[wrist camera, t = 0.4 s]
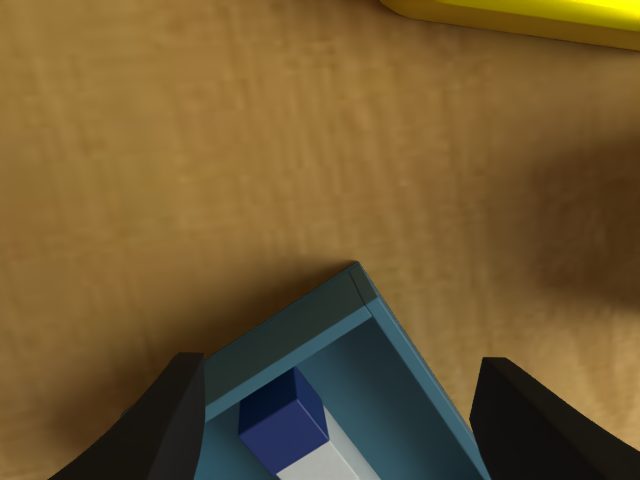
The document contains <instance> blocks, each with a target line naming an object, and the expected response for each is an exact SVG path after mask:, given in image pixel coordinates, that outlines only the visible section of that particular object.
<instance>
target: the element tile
mask: <svg viewBox="0 0 640 480" xmlns="http://www.w3.org/2000/svg"><path fill="white" fill-rule="evenodd" d="M380 1H381V3H382V4H384V5H385V6H387V7H388V8H390V9H391V10H393V11H394V12H396V13H397V14H399V15H402V16H405V17H408V18H411V19H417V20H424V21H431V22H439V23H446V24H453V25H460V26H467V27H474V28H481V29H488V30H496V31H503V32H510V33H517V34H524V35H531V36H538V37H545V38H552V39H560V40H567V41H574V42H581V43H588V44H595V45H602V46H609V47H617V48H624V49H631V50H638V51H640V0H380Z"/></svg>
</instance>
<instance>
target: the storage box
mask: <svg viewBox="0 0 640 480" xmlns="http://www.w3.org/2000/svg"><path fill="white" fill-rule="evenodd" d="M294 366H296V367H297V368H298V369H299V371H300V372H301V373H302V375H303V376H304V377H305V378H306V380H307V381H308V382H309V384H310V385H311V386H312V388H313V389H314V390H315V391H316V393H317V394H318V395H319V397H320V398H321V399H322V402H323V405H324V406H325V408H326V409H327V410H328V412H329V413H330V414H331V415H332V417H333V418H334V419H335V421H336V422H337V423H338V424H339V426H340V427H341V428H342V430H343V431H344V432H345V434H346V435H347V436H348V437H349V439H350V440H351V441H352V443H353V444H354V445H355V446H356V448H357V449H358V450H359V452H360V453H361V454H362V456H363V457H364V458H365V459H366V461H367V462H368V463H369V465H370V466H371V467H372V468H373V470H374V471H375V472H376V474H377V475H378V476H379V478H380V479H381V480H491V478H490V476H489V474H488V472H487V469H486V467H485V465H484V463H483V460H482V458H481V456H480V453H479V450H478V447H477V444H476V441H475V437H474V434H473V433H472V431H471V430H470V428H469V427H468V425H467V424H466V422H465V421H464V419H463V418H462V416H461V415H460V413H459V412H458V410H457V409H456V407H455V406H454V404H453V403H452V401H451V400H450V398H449V397H448V395H447V394H446V392H445V391H444V389H443V388H442V386H441V385H440V383H439V382H438V380H437V379H436V377H435V376H434V374H433V373H432V371H431V370H430V368H429V367H428V365H427V364H426V362H425V361H424V359H423V358H422V356H421V355H420V353H419V352H418V350H417V349H416V347H415V346H414V344H413V343H412V341H411V340H410V338H409V337H408V335H407V334H406V332H405V331H404V329H403V328H402V326H401V324H400V323H399V321H398V320H397V318H396V317H395V315H394V314H393V312H392V311H391V309H390V308H389V306H388V305H387V303H386V302H385V300H384V299H383V297H382V296H381V294H380V293H379V291H378V290H377V288H376V287H375V285H374V284H373V282H372V281H371V279H370V278H369V276H368V275H367V273H366V272H365V270H364V269H363V267H362V266H361V264H360V263H359V262H358V261H357V262H356V263H354V264H353V265H351V266H349V267H348V268H346V269H345V270H343V271H342V272H340V273H339V274H337V275H335V276H334V277H332V278H331V279H329V280H328V281H326V282H325V283H323V284H322V285H320V286H318V287H317V288H315V289H314V290H312V291H311V292H309V293H308V294H306V295H304V296H303V297H301V298H300V299H298V300H297V301H295V302H294V303H292V304H291V305H289V306H287V307H286V308H284V309H283V310H281V311H280V312H278V313H277V314H275V315H273V316H272V317H270V318H269V319H267V320H266V321H264V322H263V323H261V324H260V325H258V326H256V327H255V328H253V329H252V330H250V331H249V332H247V333H246V334H244V335H243V336H241V337H239V338H238V339H236V340H235V341H233V342H232V343H230V344H229V345H227V346H225V347H224V348H222V349H221V350H219V351H218V352H216V353H215V354H213V355H212V356H210V357H208V358H207V359H205V360H204V378H205V415H206V418H205V425H204V432H203V439H202V446H201V452H200V457H199V461H198V465H197V469H196V473H195V476H194V480H281V479H280V478H279V477H278V476H277V475H276V474H275V475H274V476H272V475H271V474H270V473H269V472H268V471H267V470H266V468H265V467H264V466H263V465H262V464H261V463H260V461H259V460H258V459H257V458H256V457H255V456H254V455H253V453H252V452H251V451H250V450H249V449H248V448H247V446H246V445H245V444H244V443H243V442H242V441H241V440H240V438H239V437H238V423H239V409H240V400H242V399H243V398H245V397H246V396H248V395H250V394H251V393H253V392H254V391H256V390H257V389H259V388H261V387H262V386H264V385H265V384H267V383H268V382H270V381H272V380H273V379H275V378H276V377H278V376H280V375H281V374H283V373H284V372H286V371H287V370H289V369H291V368H292V367H294ZM129 409H130V408H129ZM129 409H128V410H129ZM128 410H126V411H125V412H123V413H122V415H121V417H122V416H123V415H124V414H125V413H126V412H127V411H128ZM121 417H120V418H121Z"/></svg>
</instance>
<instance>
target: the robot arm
mask: <svg viewBox="0 0 640 480" xmlns="http://www.w3.org/2000/svg"><path fill="white" fill-rule="evenodd" d="M205 418H206V415H205V378H204V353H192V352H179V353H178V354H177V355H175V356H174V358H173V359H172V360H171V362H170V363H169V364H168V365H167V367H166V368H165V369H164V370H163V372H162V373H161V374H160V375H159V377H158V378H157V379H156V380H155V381H154V382H153V384H152V385H151V386H150V387H149V388H148V389H147V390H146V392H145V393H144V394H143V395H142V396H141V397H140V398H139V399H138V400H137V402H136V403H135V404H134V405H133V406H132V407H131V408H130V409H129V410H128V411H127V412H126V413H125V414H124V415H123V416H122V417H121V418H120V419H119V420H118V421H117V422H116V423H115V424H114V425H113V426H112V427H111V428H110V429H109V430H108V431H107V432H106V433H105V434H104V435H103V436H101V437H100V438H99V439H98V440H97V441H96V442H95V443H94V444H93V445H91V446H90V447H89V448H88V449H87V450H85V451H84V452H83V453H82V454H81V455H80V456H78V457H77V458H76V459H75V460H73V461H72V462H71V463H70V464H68V465H67V466H66V467H64V468H63V469H62V470H60V471H59V472H57V473H56V474H55V475H53V476H52V477H50V478H49V479H48V480H194V476H195V473H196V469H197V465H198V461H199V457H200V452H201V446H202V439H203V432H204V425H205ZM469 420H470V423H471V427H472V430H473V434H474V437H475V441H476V444H477V447H478V450H479V453H480V456H481V458H482V460H483V463H484V465H485V467H486V469H487V472H488V474H489V476H490V478H491V480H640V451H638V450H636V449H635V448H633V447H631V446H629V445H628V444H626V443H625V442H623V441H621V440H620V439H618V438H617V437H615V436H613V435H612V434H610V433H609V432H607V431H606V430H604V429H603V428H602V427H600V426H599V425H597V424H596V423H594V422H593V421H591V420H590V419H588V418H587V417H585V416H584V415H583V414H581V413H580V412H578V411H577V410H576V409H574V408H573V407H571V406H570V405H569V404H567V403H566V402H565V401H563V400H562V399H561V398H559V397H558V396H557V395H555V394H554V393H553V392H551V391H550V390H549V389H547V388H546V387H545V386H544V385H542V384H541V383H540V382H538V381H537V380H536V379H534V378H533V377H532V376H531V375H529V374H528V373H527V372H525V371H524V370H523V369H521V368H520V367H519V366H517V365H516V364H514V363H513V362H512V361H510V360H509V359H507V358H503V357H483V359H482V364H481V368H480V373H479V377H478V382H477V386H476V391H475V395H474V400H473V404H472V409H471V413H470V418H469Z"/></svg>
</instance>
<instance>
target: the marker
mask: <svg viewBox="0 0 640 480" xmlns="http://www.w3.org/2000/svg"><path fill="white" fill-rule="evenodd" d="M238 437H239V438H240V440H241V441H242V442H243V443H244V444H245V445H246V446H247V448H248V449H249V450H250V451H251V452H252V453H253V455H254V456H255V457H256V458H257V459H258V460H259V461H260V463H261V464H262V465H263V466H264V467H265V468H266V470H267V471H268V472H269V473H270V474H271V475H272V476H274V475H275V474H276V475H277V476H278V477H279V478H280V479H281V480H381V479H380V478H379V476H378V475H377V474H376V472H375V471H374V470H373V468H372V467H371V466H370V465H369V463H368V462H367V461H366V459H365V458H364V457H363V456H362V454H361V453H360V452H359V450H358V449H357V448H356V446H355V445H354V444H353V443H352V441H351V440H350V439H349V437H348V436H347V435H346V434H345V432H344V431H343V430H342V428H341V427H340V426H339V424H338V423H337V422H336V421H335V419H334V418H333V417H332V415H331V414H330V413H329V412H328V410H327V409H326V408H325V406H324V405H323V402H322V399H321V398H320V397H319V395H318V394H317V393H316V391H315V390H314V389H313V388H312V386H311V385H310V384H309V382H308V381H307V380H306V378H305V377H304V376H303V375H302V373H301V372H300V371H299V369H298V368H297V367H296V366H294V367H292V368H291V369H289V370H287V371H286V372H284V373H283V374H281V375H280V376H278V377H276V378H275V379H273V380H272V381H270V382H268V383H267V384H265V385H264V386H262V387H261V388H259V389H257V390H256V391H254V392H253V393H251V394H250V395H248V396H246V397H245V398H243V399H242V400H240V409H239V423H238Z"/></svg>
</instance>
